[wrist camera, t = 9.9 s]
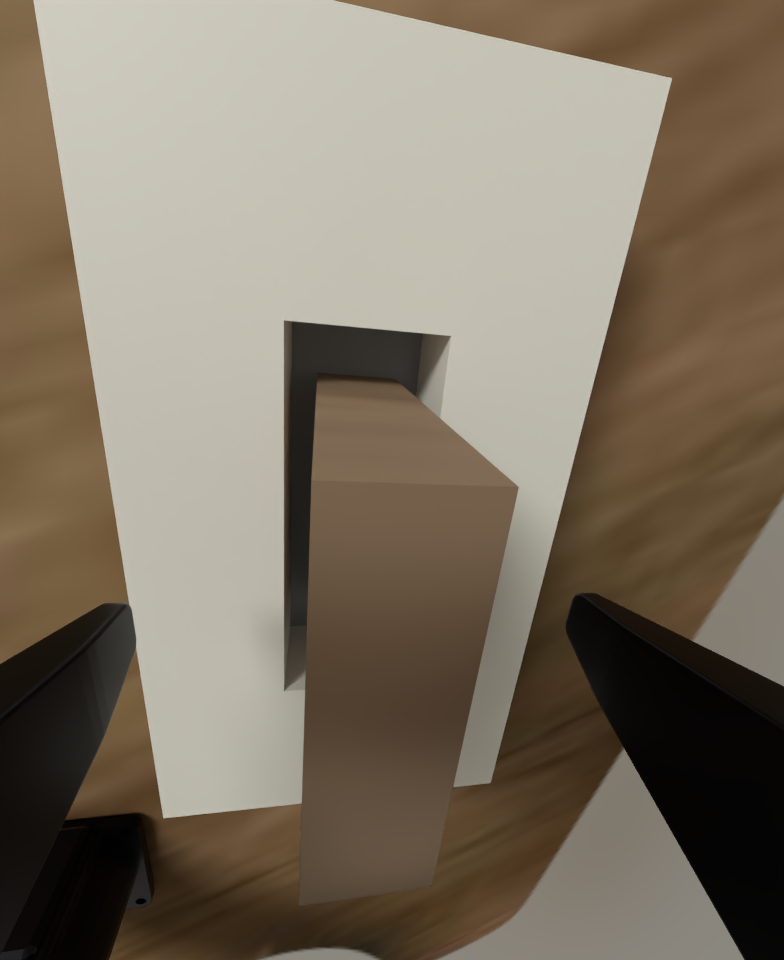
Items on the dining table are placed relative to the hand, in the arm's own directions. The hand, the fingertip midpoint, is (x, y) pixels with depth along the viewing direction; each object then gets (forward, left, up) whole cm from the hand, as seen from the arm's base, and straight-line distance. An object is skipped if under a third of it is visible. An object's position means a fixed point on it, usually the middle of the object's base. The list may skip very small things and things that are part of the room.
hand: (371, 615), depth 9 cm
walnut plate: (0, 0, -6) cm, 6 cm away
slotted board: (0, 0, -7) cm, 7 cm away
